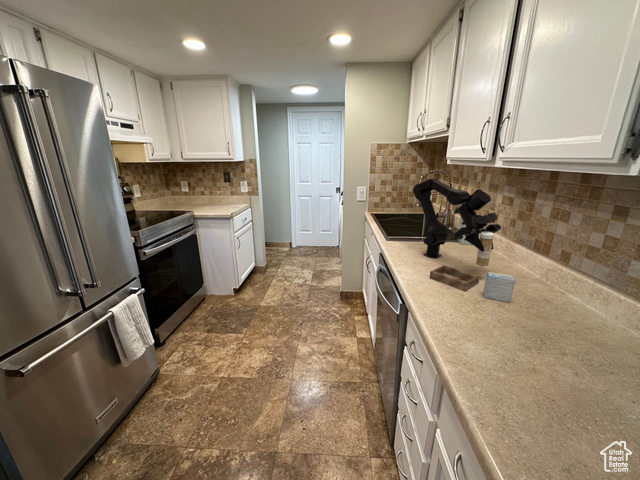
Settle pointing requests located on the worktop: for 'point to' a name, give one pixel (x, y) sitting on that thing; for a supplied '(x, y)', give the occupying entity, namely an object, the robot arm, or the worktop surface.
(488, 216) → the robot arm
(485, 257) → the sprinkles bottle
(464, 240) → the skincare box
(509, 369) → the worktop surface
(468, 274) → the frame
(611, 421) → the worktop surface
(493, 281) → the medicine box
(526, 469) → the worktop surface
